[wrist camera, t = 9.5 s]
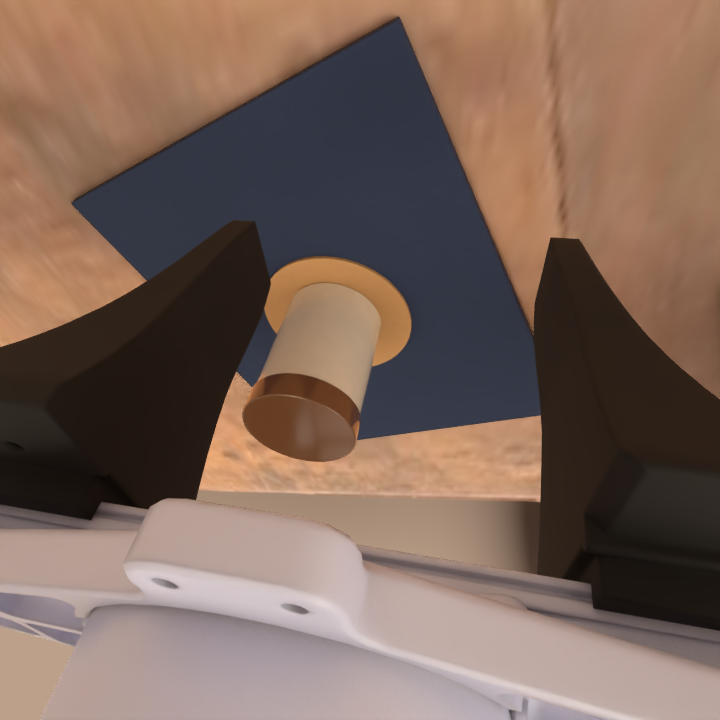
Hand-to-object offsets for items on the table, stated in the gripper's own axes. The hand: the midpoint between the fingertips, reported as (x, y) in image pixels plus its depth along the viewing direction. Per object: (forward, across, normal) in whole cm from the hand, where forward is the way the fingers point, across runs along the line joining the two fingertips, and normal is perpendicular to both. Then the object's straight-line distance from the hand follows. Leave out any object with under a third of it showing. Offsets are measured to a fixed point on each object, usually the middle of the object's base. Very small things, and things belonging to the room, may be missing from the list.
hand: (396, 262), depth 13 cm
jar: (+9, +5, +11) cm, 15 cm away
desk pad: (+9, +5, +11) cm, 15 cm away
